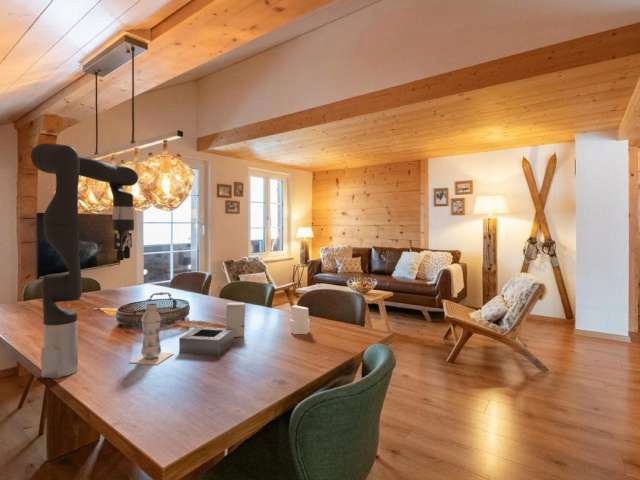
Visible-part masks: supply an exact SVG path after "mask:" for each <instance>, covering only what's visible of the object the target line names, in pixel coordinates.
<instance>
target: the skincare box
mask: <svg viewBox="0 0 640 480" xmlns="http://www.w3.org/2000/svg"><path fill="white" fill-rule="evenodd" d="M225 305H226V309H225V314H226V315H225V328H230V329H234V338H237V337H238V338H239V337H240V338H241V337H245V325H246V324H245V317H246V303H245V302H242V301H241V302H239V301H238V302H236V301H235V302H226V304H225Z"/></svg>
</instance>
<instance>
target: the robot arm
mask: <svg viewBox="0 0 640 480" xmlns="http://www.w3.org/2000/svg"><path fill="white" fill-rule="evenodd" d="M30 160H31V163H32V164H33V166H34V167H35V168H36V169H38V170H39V171H41V172H43V173H46V174H52V175H55V192H54V195H53V197H52V199H51V200H50V202H49V203H48V206H47V208H46V209H45V211H44V214H43V218H42V219H43V235H44V238H45V240H46V241H47V242H48V244H49V245H50V246H51V248H52V249H53V250H54V251H55V252H56V253H57V254H58V255H59V256H60V257H61V259H62V260H63V262H64V264H65V265H66V268H67V271H68V273H55V274H53V273H52V274H45V275H44V276H43V278H42V280H41V298H42V316H43V318H42V319H43V347H42V348H41V349H40V356H41V357H40V359H41V360H40V361H41V362H40V363H41V365H40V366H41V378H45V379H46V378H49V379H51V378H52V379H60V378H63V377H67V376H71V375H73V374H74V373H77V372H78V370H79V356H78V355H79V354H78V353H79V349H78V347H79V346H78V345H79V344H78V313H77V311H75V310H73V309H67V308H63V307H61V306H60V305H58V304H57V303H59V302H64V303H65V302H73V301H74V302H75V301H78V300H80V299H81V297H82V295H83V279H82V271H81V269H82V268H81V261H80V224H79V222H80V221H79V198H78V197H79V179H80V177H85V178H89V179H92V180H95V181H100V182H105V183H108V184H109V188H110V191H111V194H112V214H111V215H112V231H113V232H115V231H117V233H114V239H113V241H114V242H113V243H114V245H113V246H114V247H113V248H114V250H116V261H123V260H124V259H127V260H128V259H130V258H131V248H133V237H132V235H133V233H132V232H133V231H134V230H135V211H134V194H133V193H132V192H128V191H125V188H124V187H131V186H132V187H133V186H134V185H136V184H137V182H138V181H139V174H138V173H137V171H136V170H135V169H133V168H131V167H129V166H123V165H115V164H112V163H108V162H106V161H102V160H97V159H94V158H87V157H84V156H83V157H81V156H79V154H78V152H77V150H76V149H75V148H74V147H72V146H71V145H67V144H59V143H51V142H44V143H43V142H42V143H39V144H37V145H35V146H34V147H33V148H32V149H31V153H30ZM130 231H131V232H130Z"/></svg>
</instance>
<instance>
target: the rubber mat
mask: <svg viewBox="0 0 640 480" xmlns="http://www.w3.org/2000/svg"><path fill="white" fill-rule="evenodd" d="M174 355H175V353H174V352H161V353H160V355H159V356H158V357H156V358H152V359H146V358H143V356H142V354H141V355H139V356H137V357H136V358H134V359H132V360H130V361H128V364H135V365H137V364H138V365H154V366H155V365H156V366H158V365H160V364H161V363H163V362H165V361H166V360H167V359H168V358H171V357H172V356H174Z"/></svg>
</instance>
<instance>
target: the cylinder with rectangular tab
mask: <svg viewBox="0 0 640 480" xmlns="http://www.w3.org/2000/svg"><path fill="white" fill-rule="evenodd" d="M290 308H291V309H290V310H291V312H290V314H291V315H290V317H291V318H290V319H289V321H290V322H289V326H290V327H289V333H290V332H291V333H293V334H292V335H294V334H305V333H308V332H309V333H310V318H309V307H305V306H301V305H296V304H295V305H291V306H290ZM291 333H290V334H291ZM309 333H308V334H309ZM305 335H306V334H305Z"/></svg>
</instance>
